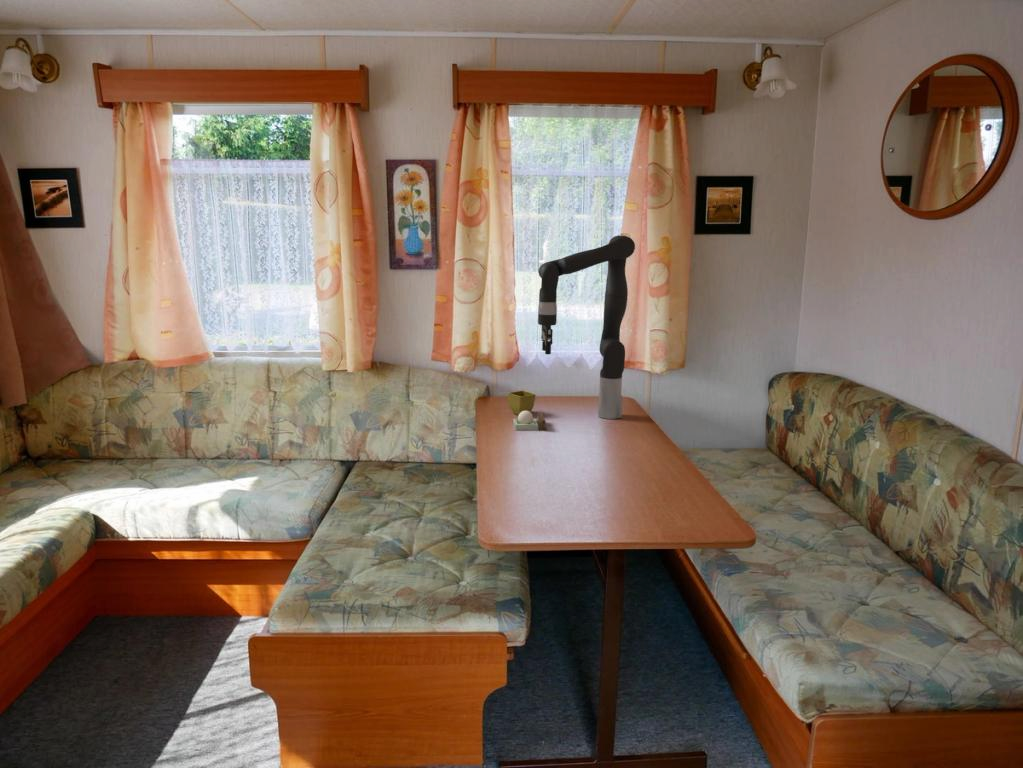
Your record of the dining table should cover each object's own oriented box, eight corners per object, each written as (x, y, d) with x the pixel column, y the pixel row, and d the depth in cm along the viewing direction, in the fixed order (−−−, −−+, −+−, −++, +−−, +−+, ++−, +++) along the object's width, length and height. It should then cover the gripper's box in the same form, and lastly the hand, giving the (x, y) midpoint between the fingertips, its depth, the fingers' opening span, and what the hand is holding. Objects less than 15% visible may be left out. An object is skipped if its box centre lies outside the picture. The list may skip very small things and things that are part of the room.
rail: (542, 422, 279) (543, 412, 279) (547, 430, 268) (547, 420, 267) (535, 422, 279) (535, 412, 278) (539, 430, 268) (539, 420, 267)
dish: (535, 423, 277) (535, 418, 277) (538, 429, 268) (538, 424, 268) (513, 423, 276) (513, 418, 276) (515, 430, 268) (515, 425, 267)
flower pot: (522, 410, 298) (522, 390, 296) (535, 414, 291) (536, 393, 289) (506, 413, 292) (507, 392, 290) (520, 417, 286) (520, 396, 284)
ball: (532, 423, 275) (532, 408, 274) (533, 427, 270) (534, 412, 268) (517, 423, 275) (517, 409, 274) (518, 427, 269) (518, 413, 268)
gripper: (559, 315, 269) (558, 355, 272) (553, 310, 282) (552, 349, 286) (540, 315, 268) (539, 355, 271) (535, 310, 282) (535, 349, 285)
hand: (546, 352), depth 279 cm, fingers open, 8 cm apart
